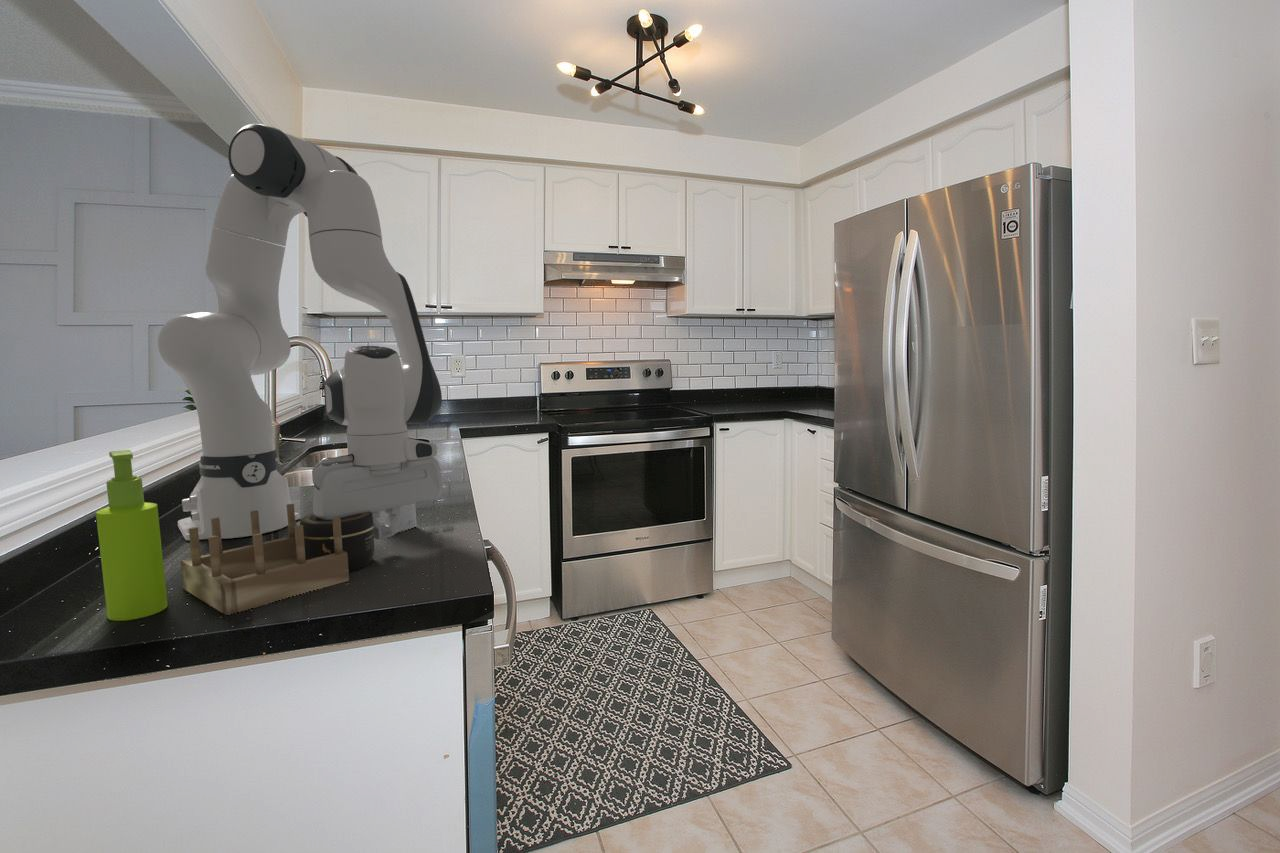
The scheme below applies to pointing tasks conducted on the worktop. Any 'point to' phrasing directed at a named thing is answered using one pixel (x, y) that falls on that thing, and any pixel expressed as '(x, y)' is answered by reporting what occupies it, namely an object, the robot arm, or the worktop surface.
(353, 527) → the jar
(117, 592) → the soap dispenser
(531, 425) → the worktop surface
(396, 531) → the syrup box
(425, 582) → the worktop surface
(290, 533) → the dish rack
